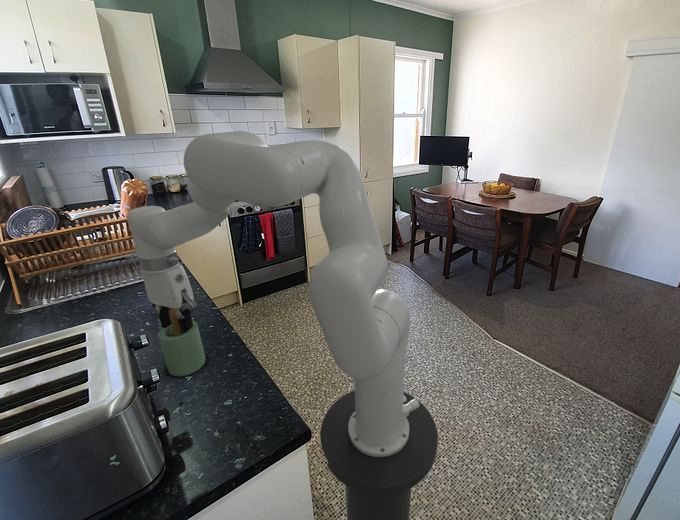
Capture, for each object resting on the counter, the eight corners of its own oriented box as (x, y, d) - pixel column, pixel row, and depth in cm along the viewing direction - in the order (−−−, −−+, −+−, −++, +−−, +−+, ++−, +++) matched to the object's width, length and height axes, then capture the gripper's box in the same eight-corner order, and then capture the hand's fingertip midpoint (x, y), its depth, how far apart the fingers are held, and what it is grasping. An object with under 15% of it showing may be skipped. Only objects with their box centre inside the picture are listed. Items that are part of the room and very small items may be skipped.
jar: (201, 349, 96) (193, 315, 92) (208, 367, 89) (200, 331, 85) (165, 361, 92) (155, 326, 87) (170, 381, 85) (160, 345, 81)
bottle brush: (191, 357, 92) (178, 305, 86) (193, 363, 90) (180, 311, 84) (179, 361, 91) (164, 309, 84) (180, 368, 88) (166, 315, 82)
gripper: (201, 258, 79) (216, 325, 86) (146, 250, 85) (165, 313, 92) (174, 272, 73) (193, 343, 80) (117, 262, 78) (139, 329, 85)
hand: (177, 326), depth 86 cm, fingers open, 5 cm apart
